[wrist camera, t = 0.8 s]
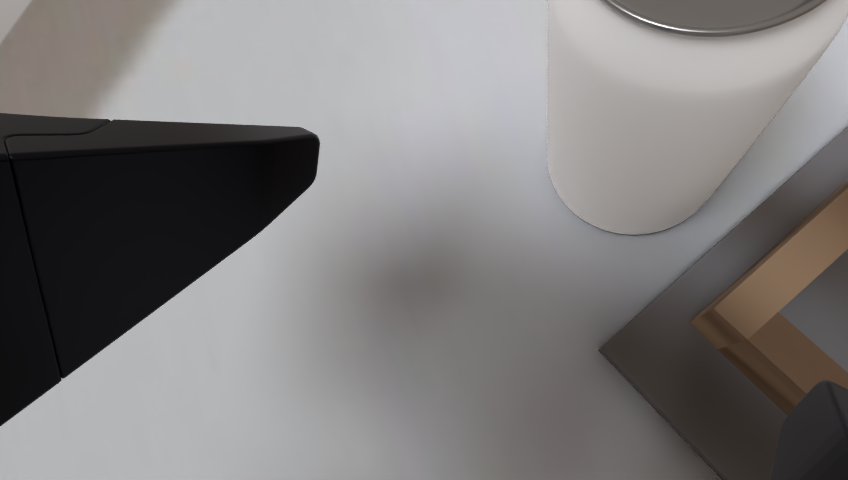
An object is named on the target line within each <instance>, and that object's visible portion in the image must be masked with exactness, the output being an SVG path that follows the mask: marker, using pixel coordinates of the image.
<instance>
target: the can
mask: <svg viewBox="0 0 848 480" xmlns="http://www.w3.org/2000/svg"><path fill="white" fill-rule="evenodd" d="M847 16H848V0H547V158H548V169H549V174H550V178H551V181H552V183H553V186H554V188H555V190H556V192H557V194H558V195H559V197H560V198H561V200H562V201H563V202H564V204H565V205H566V206H567V207H568V208H569V209H570V210H571V211H572V212H573V213H574V214H576V215H577V216H578V217H580V218H581V219H583V220H584V221H586V222H587V223H589V224H591V225H593V226H595V227H598V228H600V229H603V230H606V231H610V232H614V233H620V234H631V235H638V234H649V233H654V232H659V231H662V230H665V229H668V228H671V227H673V226H675V225H677V224H679V223H681V222H683V221H684V220H686V219H688V218H689V217H690V216H692V215H693V214H694V213H695V212H696V211H698V210H699V209H700V208H701V207H702V206H703V205H704V203H705V202H706V201H707V200H708V199H709V198H710V196H711V195H712V194H713V193H714V192H715V190H716V189H717V188H718V187H719V186H720V184H721V183H722V182H723V181H724V179H725V178H726V177H727V176H728V174H729V173H730V172H731V171H732V169H733V168H734V167H735V166H736V164H737V163H738V162H739V161H740V159H741V158H742V157H743V156H744V154H745V153H746V152H747V150H748V149H749V148H750V147H751V145H752V144H753V143H754V142H755V140H756V139H757V138H758V137H759V135H760V134H761V133H762V132H763V130H764V129H765V128H766V126H767V125H768V124H769V123H770V121H771V120H772V119H773V118H774V116H775V115H776V114H777V112H778V111H779V110H780V109H781V107H782V106H783V105H784V104H785V102H786V101H787V100H788V98H789V97H790V96H791V95H792V93H793V92H794V91H795V89H796V88H797V87H798V86H799V84H800V83H801V82H802V81H803V79H804V78H805V77H806V75H807V74H808V73H809V71H810V70H811V69H812V68H813V66H814V65H815V64H816V62H817V61H818V60H819V58H820V57H821V56H822V54H823V53H824V52H825V50H826V49H827V48H828V46H829V45H830V43H831V42H832V41H833V39H834V38H835V36H836V35H837V33H838V32H839V30H840V29H841V27H842V25H843V23H844V22H845V20H846V18H847Z"/></svg>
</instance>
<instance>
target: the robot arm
mask: <svg viewBox="0 0 848 480" xmlns="http://www.w3.org/2000/svg"><path fill="white" fill-rule="evenodd" d="M319 148H320V141H319V138H318V136H317V135H316V134H314V133H312V132H310V131H308V130H306V129H304V128H301V127H285V126H260V125H235V124H210V123H185V122H160V121H135V120H112V121H110V120H108V119H87V118H67V117H49V116H34V115H20V114H6V113H0V426H1V425H3V424H4V423H5V422H7V421H8V420H10V419H11V418H12V417H14V416H15V415H16V414H18V413H19V412H20V411H22V410H23V409H24V408H26V407H27V406H28V405H30V404H31V403H32V402H34V401H35V400H36V399H38V398H39V397H40V396H42V395H43V394H44V393H46V392H47V391H48V390H50V389H51V388H52V387H54V386H55V385H56V384H58V383H59V382H60V381H61V378H65V377H67V376H68V375H69V374H71V373H72V372H73V371H75V370H76V369H77V368H79V367H80V366H81V365H83V364H84V363H85V362H87V361H88V360H89V359H91V358H92V357H93V356H95V355H96V354H98V353H99V352H100V351H102V350H103V349H104V348H106V347H107V346H108V345H110V344H111V343H112V342H114V341H115V340H116V339H118V338H119V337H120V336H122V335H123V334H124V333H126V332H127V331H128V330H130V329H131V328H132V327H134V326H135V325H136V324H138V323H139V322H140V321H142V320H143V319H145V318H146V317H147V316H149V315H150V314H151V313H153V312H154V311H155V310H157V309H158V308H159V307H161V306H162V305H163V304H165V303H166V302H167V301H169V300H170V299H171V298H173V297H174V296H175V295H177V294H178V293H179V292H181V291H182V290H183V289H185V288H186V287H187V286H189V285H190V284H192V283H193V282H194V281H196V280H197V279H198V278H200V277H201V276H202V275H204V274H205V273H206V272H208V271H209V270H210V269H212V268H213V267H214V266H216V265H217V264H218V263H220V262H221V261H222V260H224V259H225V258H226V257H228V256H229V255H230V254H232V253H233V252H234V251H236V250H237V249H239V248H240V247H241V246H243V245H244V244H245V243H247V242H248V241H249V240H251V239H252V238H253V237H255V236H256V235H257V234H258V233H260V232H261V231H262V230H263V229H264V228H265V227H267V226H268V225H269V224H270V223H271V222H272V221H273V220H274V219H275V218H276V217H278V216H279V215H280V214H281V213H282V212H283V211H284V210H285V209H286V208H287V207H288V206H289V205H291V204H292V203H293V202H294V201H295V200H296V199H297V198H298V197H299V196H300V195H301V194H302V193H303V192H305V191H306V190H307V189H308V188H309V187H310V186H311V185H312V183H313V182H314V180H315V177H316V174H317V165H318V157H319ZM769 480H848V389H846V388H844V387H842V386H840V385H838V384H836V383H834V382H832V381H829V380H823V381H820V382H819V383H817V384H816V385H815V386H814V387H813V388H812V389H811V390H810V391H809V392H808V393H807V394H806V396H805V397H804V398H803V399H802V400H801V401H800V402H799V403H798V404H797V405H796V407H795V408H794V409H793V410H792V411H791V412H790V413H789V414H788V416H787V417H786V419H785V420H784V422H783V424H782V427H781V430H780V434H779V438H778V443H777V447H776V451H775V456H774V460H773V464H772V469H771V473H770V478H769Z"/></svg>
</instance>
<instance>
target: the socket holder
mask: <svg viewBox="0 0 848 480" xmlns="http://www.w3.org/2000/svg"><path fill="white" fill-rule="evenodd" d="M599 351H600V352H601V353H602V354H603V355H604V356H605V357H606V359H607V360H608V361H609V362H610V363H611V364H612V365H613V366H614V367H615V368H616V369H617V370H618V371H619V372H620V373H621V374H622V375H623V376H624V377H625V378H626V379H627V380H628V381H629V382H630V384H631V385H632V386H633V387H634V388H635V389H636V390H637V391H638V392H639V393H640V394H641V395H642V396H643V397H644V398H645V399H646V400H647V401H648V402H649V403H650V404H651V405H652V406H653V408H654V409H655V410H656V411H657V412H658V413H659V414H660V415H661V416H662V417H663V418H664V419H665V420H666V421H667V422H668V423H669V424H670V425H671V426H672V427H673V428H674V429H675V430H676V431H677V433H678V434H679V435H680V436H681V437H682V438H683V439H684V440H685V441H686V442H687V443H688V444H689V445H690V446H691V447H692V448H693V449H694V450H695V451H696V452H697V453H698V454H699V455H700V457H701V458H702V459H703V460H704V461H705V462H706V463H707V464H708V465H709V466H710V467H711V468H712V469H713V470H714V471H715V472H716V473H717V474H718V475H719V476H720V477H721V478H722V479H723V480H769V478H770V473H771V469H772V464H773V460H774V456H775V451H776V447H777V443H778V438H779V434H780V430H781V427H782V424H783V422H784V420H785V419H786V417H787V416H788V414H789V413H790V412H791V411H792V410H793V409H794V408H795V407H796V405H797V404H798V403H799V402H800V401H801V400H802V399H803V398H804V397H805V396H806V394H807V393H808V392H809V391H810V390H811V389H812V388H813V387H814V386H815V385H816V384H817V383H819V382H820V381H823V380H829V381H832V382H834V383H836V384H838V385H840V386H842V387H844V388H846V389H848V127H847V128H846V129H844V130H843V131H842V132H841V133H840V134H839V135H838V136H837V137H836V138H834V139H833V140H832V141H831V142H830V143H829V144H828V145H827V146H826V147H824V148H823V149H822V150H821V151H820V152H819V153H818V154H817V155H815V156H814V157H813V158H812V159H811V160H810V161H809V162H808V163H807V164H805V165H804V166H803V167H802V168H801V169H800V170H799V171H798V172H797V173H795V174H794V175H793V176H792V177H791V178H790V179H789V180H788V181H786V182H785V183H784V184H783V185H782V186H781V187H780V188H779V189H778V190H776V191H775V192H774V193H773V194H772V195H771V196H770V197H769V198H768V199H766V200H765V201H764V202H763V203H762V204H761V205H760V206H759V207H757V208H756V209H755V210H754V211H753V212H752V213H751V214H750V215H749V216H747V217H746V218H745V219H744V220H743V221H742V222H741V223H740V224H739V225H737V226H736V227H735V228H734V229H733V230H732V231H731V232H730V233H728V234H727V235H726V236H725V237H724V238H723V239H722V240H721V241H720V242H718V243H717V244H716V245H715V246H714V247H713V248H712V249H711V250H710V251H708V252H707V253H706V254H705V255H704V256H703V257H702V258H701V259H700V260H698V261H697V262H696V263H695V264H694V265H693V266H692V267H691V268H689V269H688V270H687V271H686V272H685V273H684V274H683V275H682V276H681V277H679V278H678V279H677V280H676V281H675V282H674V283H673V284H672V285H671V286H669V287H668V288H667V289H666V290H665V291H664V292H663V293H662V294H660V295H659V296H658V297H657V298H656V299H655V300H654V301H653V302H652V303H650V304H649V305H648V306H647V307H646V308H645V309H644V310H643V311H642V312H640V313H639V314H638V315H637V316H636V317H635V318H634V319H633V320H631V321H630V322H629V323H628V324H627V325H626V326H625V327H624V328H623V329H621V330H620V331H619V332H618V333H617V334H616V335H615V336H614V337H613V338H611V339H610V340H609V341H608V342H607V343H606V344H605V345H604V346H602V347H601V348H600V349H599Z"/></svg>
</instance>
